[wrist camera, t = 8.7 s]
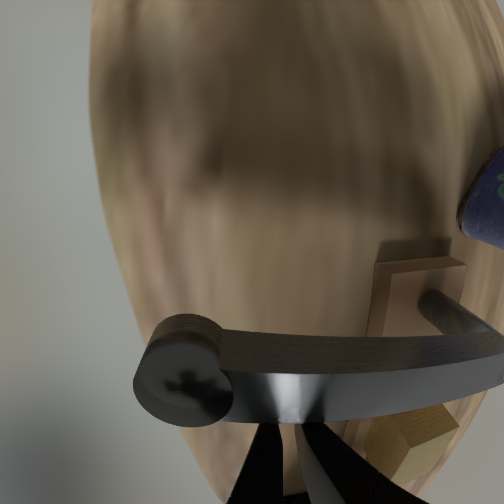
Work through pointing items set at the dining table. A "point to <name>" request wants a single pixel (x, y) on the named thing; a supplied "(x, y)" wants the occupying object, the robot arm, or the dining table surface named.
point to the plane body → (404, 310)
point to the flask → (485, 203)
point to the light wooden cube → (409, 442)
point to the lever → (314, 370)
